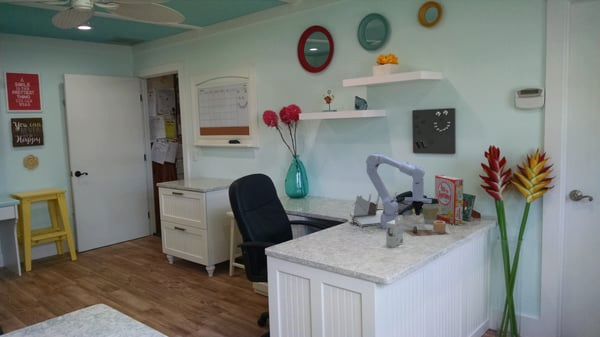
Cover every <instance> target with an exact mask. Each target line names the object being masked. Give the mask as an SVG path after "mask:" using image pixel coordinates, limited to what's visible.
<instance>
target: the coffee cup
mask: <svg viewBox="0 0 600 337" xmlns="http://www.w3.org/2000/svg"><path fill="white" fill-rule="evenodd" d="M425 198H426V199H432V203H424V204H423V206H422V213H423V214H422V216H423V222H424V225H433V221H437V220H438V219H437V212H438V203H439V201H438V199H435V197H434V198H433V197H425Z"/></svg>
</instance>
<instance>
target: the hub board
mask: <svg viewBox="0 0 600 337" xmlns="http://www.w3.org/2000/svg"><path fill="white" fill-rule="evenodd" d="M404 232H405V233H406V234H407V235H409V236H411V237H423V236H424V237H425V236H442V235H443V236H446V235H448V236H449V235H451V233H449V232H448V231H445V232H434V230H433V229H418V227H417V225H414V226H413V228H412V229H411V230H404Z"/></svg>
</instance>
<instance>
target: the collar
mask: <svg viewBox="0 0 600 337" xmlns="http://www.w3.org/2000/svg"><path fill="white" fill-rule="evenodd" d="M432 226H433V227H432V228H433V229H432V230H434V232H447V231H446V222H444V221H441V220H439V221H437V220H436V221H433V224H432Z"/></svg>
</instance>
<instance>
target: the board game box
mask: <svg viewBox="0 0 600 337" xmlns="http://www.w3.org/2000/svg"><path fill="white" fill-rule="evenodd" d="M434 198H435V199H438V201H439V203H438V212H437V219H436V220H438V219H439V221H441V220H442V221H445V223H446V222H448V223H447V224H449V223H451V224H450V225H452V224H454V225H453V226H456V225H455V224H462V225H463V212H464V211H463V209H464V208H463V206H464V205H463V204H464V178H459V177H453V176H450V175H449V176H448V175H445V174H440V175H439V174H438V175H437V174H436V175H434Z"/></svg>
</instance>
